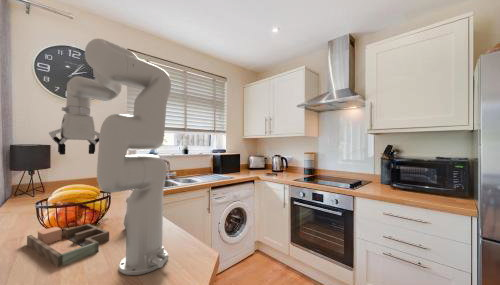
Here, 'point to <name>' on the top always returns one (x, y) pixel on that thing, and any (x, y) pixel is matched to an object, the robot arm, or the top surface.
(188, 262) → the top surface
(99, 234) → the channel
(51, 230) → the block
